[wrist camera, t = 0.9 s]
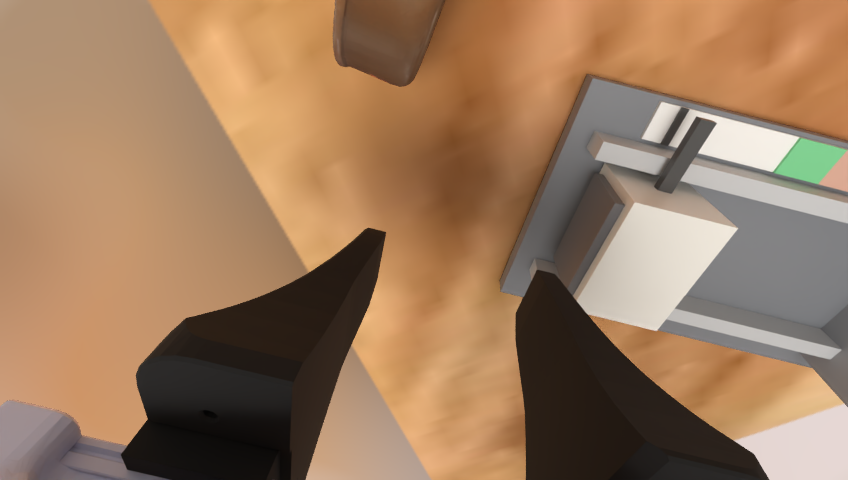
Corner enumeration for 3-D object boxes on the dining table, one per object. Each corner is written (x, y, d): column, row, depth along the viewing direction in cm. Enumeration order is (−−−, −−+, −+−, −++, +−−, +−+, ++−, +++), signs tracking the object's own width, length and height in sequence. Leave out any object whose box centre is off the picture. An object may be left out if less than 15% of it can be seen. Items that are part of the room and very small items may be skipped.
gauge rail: (813, 358, 24) (924, 477, 18) (499, 281, 23) (507, 377, 17) (1019, 184, 17) (1300, 283, 11) (587, 73, 17) (646, 116, 11)
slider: (627, 276, 21) (656, 331, 17) (548, 257, 21) (562, 307, 17) (731, 119, 16) (798, 152, 13) (629, 93, 16) (669, 119, 13)
